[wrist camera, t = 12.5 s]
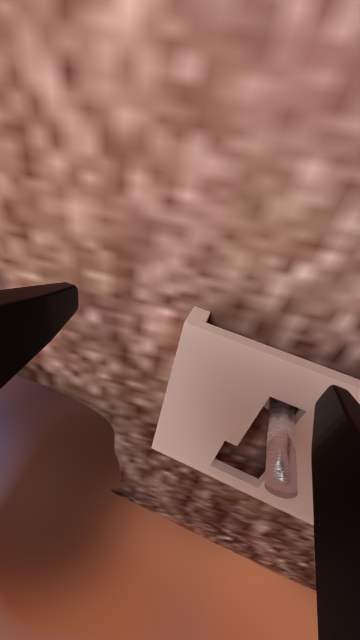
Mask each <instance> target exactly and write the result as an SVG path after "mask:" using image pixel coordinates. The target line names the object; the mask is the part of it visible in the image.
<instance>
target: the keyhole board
mask: <svg viewBox="0 0 360 640" xmlns="http://www.w3.org/2000/svg"><path fill="white" fill-rule="evenodd" d="M209 315H210V311H207V310H204V309H201V308H199V307H196V306H194V308H193V309H192V311H191V312H190V314H189V316H188V317H187V319H186V320H185V322H184V326H183V330H182V333H181V337H180V341H179V345H178V349H177V352H176V356H175V360H174V364H173V368H172V372H171V375H170V379H169V383H168V387H167V391H166V395H165V398H164V402H163V406H162V410H161V414H160V418H159V421H158V425H157V429H156V433H155V437H154V440H153V444H152V448H153V449H155V450H157V451H159V452H161V453H163V454H165V455H167V456H169V457H171V458H173V459H175V460H178V461H180V462H182V463H184V464H186V465H188V466H190V467H192V468H194V469H196V470H198V471H200V472H203V473H205V474H207V475H209V476H211V477H213V478H215V479H217V480H219V481H221V482H223V483H225V484H228V485H230V486H232V487H234V488H236V489H238V490H240V491H242V492H244V493H246V494H248V495H250V496H253V497H255V498H257V499H259V500H261V501H263V502H265V503H267V504H269V505H271V506H273V507H275V508H278V509H280V510H282V511H284V512H286V513H288V514H290V515H292V516H294V517H296V518H298V519H300V520H303V521H305V522H307V523H309V524H311V525H314V516H313V491H312V467H311V446H312V434H313V422H314V409H315V404H316V402H317V400H318V399H319V398H320V396H321V395H322V394H323V393H324V392H325V391H326V389H327V388H328V387H329V386H330V385H337V386H339V387H342V388H344V389H346V390H348V391H349V392H350V393H351V395H352V396H353V397H354V398H355V399H356V400H357V402H358V403H359V404H360V380H359V379H356V378H354V377H351V376H348V375H346V374H343V373H340V372H338V371H335V370H332V369H330V368H327V367H324V366H321V365H319V364H316V363H313V362H311V361H308V360H305V359H303V358H300V357H297V356H295V355H292V354H289V353H286V352H284V351H281V350H278V349H276V348H273V347H270V346H268V345H265V344H262V343H260V342H257V341H254V340H252V339H249V338H246V337H243V336H241V335H238V334H235V333H233V332H230V331H227V330H225V329H222V328H219V327H217V326H214V325H211V324H209V323H207V321H208V318H209ZM269 397H273V398H275V399H277V400H280V401H282V402H285V403H287V404H290V405H292V406H295V407H297V408H300V409H299V411H298V412H297V413H296V414H295V415H294V420H295V442H296V464H297V485H298V495H297V496H296V497H295V498H292V499H285V498H280V497H277V496H274V495H273V494H271V493H269V492H268V491H267V490H266V488H265V486H264V484H265V472H264V473H263V474H262V475H261V476H260V478H259V479H258V478H255V477H253V476H251V475H249V474H247V473H245V472H243V471H240V470H238V469H236V468H234V467H232V466H230V465H227V464H225V463H223V462H221V461H219V460H217V459H215V457H216V455H217V453H218V452H219V450H220V448H221V447H222V445H223V443H224V441H227V442H229V443H231V444H233V445H236V446H238V444H239V443H240V441H241V440H242V438H243V436H244V435H245V433H246V432H247V430H248V429H249V427H250V426H251V424H252V423H253V421H254V420H255V418H256V417H257V415H258V414H259V412H260V411H261V409H262V408H263V406H264V405H265V403H266V401H267V400H268V398H269Z"/></svg>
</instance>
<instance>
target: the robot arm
mask: <svg viewBox="0 0 360 640" xmlns="http://www.w3.org/2000/svg"><path fill="white" fill-rule="evenodd" d="M78 305H79V304H78V289H77V287H76V286H75V285H72V284H70V283H67V282H63V283H54V284H46V285H38V286H30V287H21V288H13V289H5V290H0V389H1V388H2V387H3V386H4V385H5V384H6V383H7V382H8V381H9V380H10V379H11V378H12V377H13V376H14V375H16V374H17V373H18V372H19V371H20V370H21V369H22V368H23V367H24V366H25V365H26V364H27V363H28V362H29V361H30V360H31V359H32V358H33V357H34V356H36V355H37V354H38V353H39V352H40V351H41V350H42V349H43V348H44V347H45V346H46V345H47V344H48V343H49V342H50V341H51V340H52V339H53V338H54V337H55V336H56V334H57V333H58V332H59V331H60V330H61V329H62V327H63V326H64V325H65V324H66V323H67V322H68V320H69V319H70V318H71V317H72V316H73V315H74V313H75V312H76V311H77V309H78ZM311 467H312V491H313V516H314V541H315V565H316V590H317V615H318V638H319V639H318V640H360V404H359V403H358V402H357V400H356V399H355V398H354V397H353V396H352V395H351V393H350V392H349V391H348V390H346V389H344V388H342V387H339V386H337V385H330V386H329V387H328V388H327V389H326V391H325V392H324V393H323V394H322V395H321V396H320V398H319V399H318V400H317V402H316V404H315V409H314V422H313V434H312V446H311Z"/></svg>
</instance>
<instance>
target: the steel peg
mask: <svg viewBox="0 0 360 640" xmlns="http://www.w3.org/2000/svg"><path fill="white" fill-rule="evenodd" d="M264 407H265V408H267V409H268V410H269V415H268V432H267V449H266V467H265V484H264V486H265V488H266V490H267V491H268V492H269V493H271V494H273V495H274V496H277V497H280V498H285V499H292V498H295V497H296V496H297V495H298V485H297V464H296V442H295V420H294V413H297V412H298V411H299V409H300V408H297V407H295V406H292V405H290V404H287V403H285V402H282V401H280V400H277V399H275V398H273V397H269V398H268V400H267V401H266V403H265V405H264Z"/></svg>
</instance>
